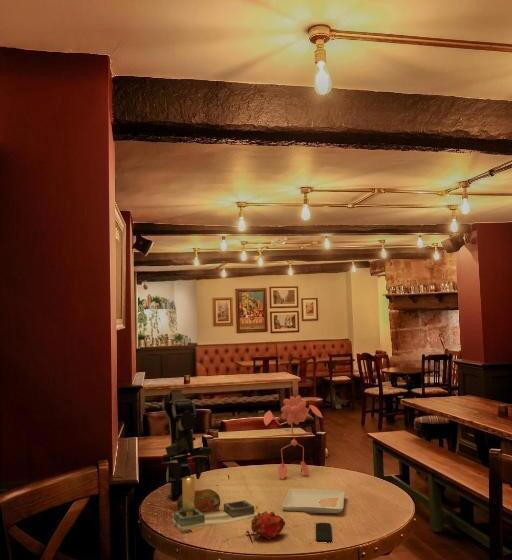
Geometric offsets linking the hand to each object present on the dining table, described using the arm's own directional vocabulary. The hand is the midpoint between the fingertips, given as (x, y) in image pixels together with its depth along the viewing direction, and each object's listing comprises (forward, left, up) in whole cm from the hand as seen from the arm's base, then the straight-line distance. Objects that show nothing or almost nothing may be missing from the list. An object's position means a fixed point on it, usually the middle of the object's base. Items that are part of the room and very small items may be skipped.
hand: (187, 480), depth 200 cm
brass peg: (+9, -3, -11) cm, 14 cm away
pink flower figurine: (-22, +55, -12) cm, 61 cm away
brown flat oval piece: (+1, +3, -12) cm, 12 cm away
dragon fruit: (+32, +15, -12) cm, 37 cm away
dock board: (+10, +7, -12) cm, 17 cm away
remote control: (+38, +31, -12) cm, 51 cm away
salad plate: (+13, +43, -12) cm, 47 cm away
